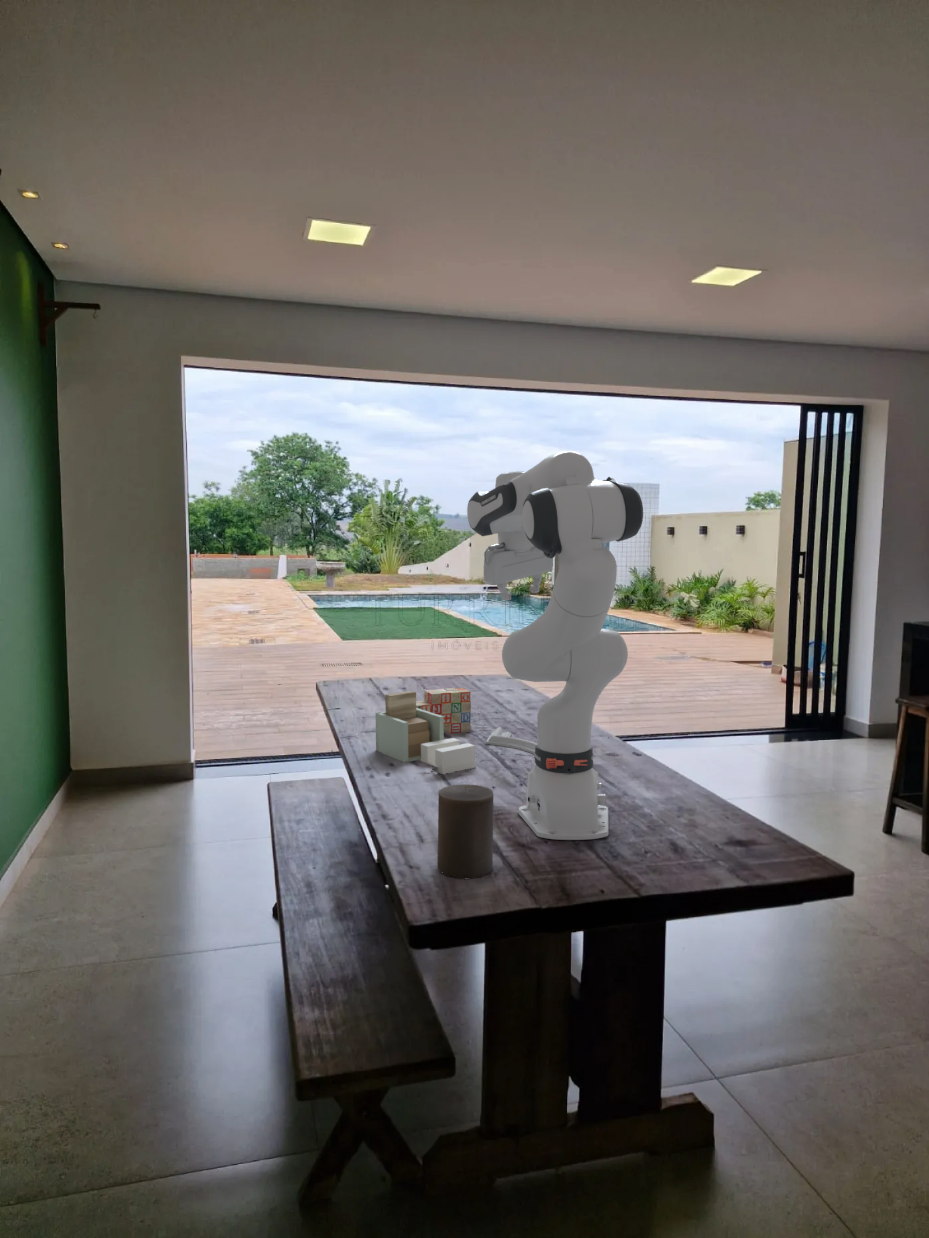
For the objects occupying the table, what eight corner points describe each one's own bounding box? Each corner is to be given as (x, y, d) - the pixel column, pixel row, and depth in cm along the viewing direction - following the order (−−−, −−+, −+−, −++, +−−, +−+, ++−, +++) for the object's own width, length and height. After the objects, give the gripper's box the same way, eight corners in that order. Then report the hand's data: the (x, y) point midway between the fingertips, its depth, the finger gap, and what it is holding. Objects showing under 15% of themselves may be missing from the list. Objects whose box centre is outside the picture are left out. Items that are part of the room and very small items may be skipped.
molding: (603, 769, 205) (603, 758, 205) (566, 777, 198) (566, 765, 198) (503, 734, 240) (503, 724, 240) (469, 739, 233) (469, 729, 233)
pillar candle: (459, 884, 137) (459, 797, 136) (426, 864, 145) (427, 782, 144) (504, 870, 143) (505, 786, 141) (471, 852, 151) (472, 773, 149)
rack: (443, 758, 212) (443, 716, 211) (404, 766, 205) (403, 722, 204) (414, 747, 224) (414, 707, 222) (376, 754, 216) (375, 712, 215)
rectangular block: (416, 747, 219) (416, 692, 217) (390, 752, 214) (390, 695, 213) (411, 745, 221) (411, 690, 219) (386, 750, 216) (385, 694, 214)
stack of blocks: (401, 738, 234) (400, 696, 232) (394, 733, 239) (394, 692, 238) (471, 732, 241) (470, 690, 240) (463, 727, 247) (463, 686, 246)
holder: (475, 767, 205) (475, 745, 204) (443, 774, 199) (442, 752, 198) (452, 758, 213) (452, 737, 212) (420, 765, 207) (420, 743, 206)
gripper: (493, 547, 188) (498, 606, 191) (555, 534, 200) (559, 589, 203) (475, 546, 192) (480, 603, 195) (537, 533, 205) (541, 587, 208)
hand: (521, 596), depth 199 cm, fingers open, 8 cm apart
